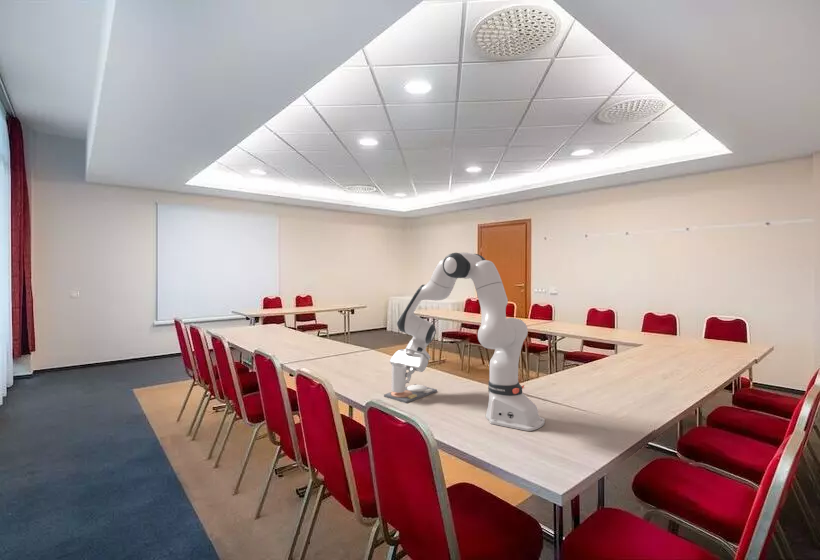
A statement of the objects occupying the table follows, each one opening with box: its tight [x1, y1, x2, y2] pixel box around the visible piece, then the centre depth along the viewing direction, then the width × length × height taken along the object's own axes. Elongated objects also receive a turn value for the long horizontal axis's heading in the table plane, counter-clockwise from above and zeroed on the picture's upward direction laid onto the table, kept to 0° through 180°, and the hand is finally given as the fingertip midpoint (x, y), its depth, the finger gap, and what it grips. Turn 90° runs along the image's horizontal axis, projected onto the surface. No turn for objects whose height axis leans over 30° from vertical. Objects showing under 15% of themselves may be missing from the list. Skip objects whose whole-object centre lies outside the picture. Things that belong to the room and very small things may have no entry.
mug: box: [391, 363, 412, 393], centre depth 183 cm, size 10×7×12 cm, turn 119°
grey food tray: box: [383, 383, 438, 404], centre depth 187 cm, size 14×22×2 cm, turn 138°
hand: (400, 375), depth 183 cm, fingers closed on mug, 6 cm apart
